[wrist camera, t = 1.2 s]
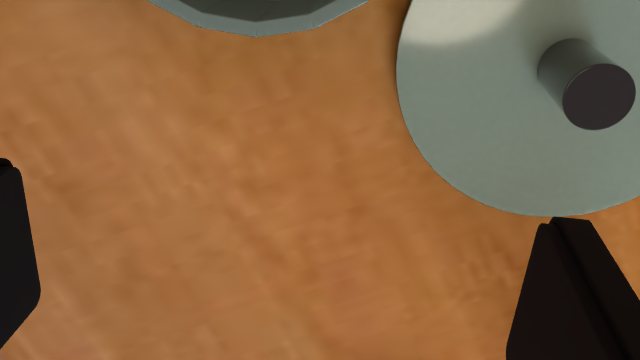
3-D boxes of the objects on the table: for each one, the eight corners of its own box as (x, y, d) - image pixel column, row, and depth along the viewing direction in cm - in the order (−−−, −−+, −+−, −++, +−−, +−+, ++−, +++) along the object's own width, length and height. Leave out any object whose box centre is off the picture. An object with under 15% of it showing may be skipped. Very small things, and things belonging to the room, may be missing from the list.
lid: (329, 57, 32) (317, 91, 27) (609, -216, 26) (668, -245, 20) (528, 259, 36) (553, 324, 31) (813, 67, 30) (908, 105, 24)
